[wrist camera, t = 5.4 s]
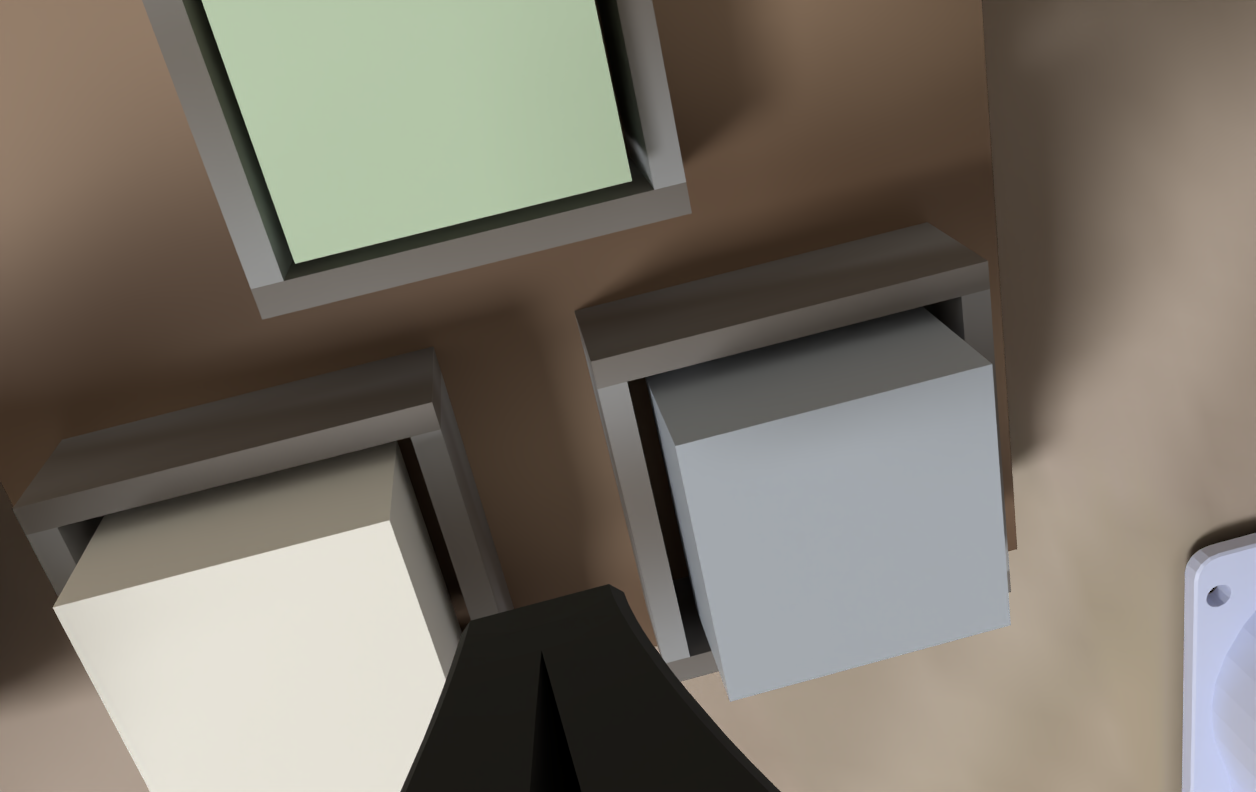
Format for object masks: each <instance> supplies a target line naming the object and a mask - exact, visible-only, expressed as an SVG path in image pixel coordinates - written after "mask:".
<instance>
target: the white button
mask: <svg viewBox="0 0 1256 792" xmlns="http://www.w3.org/2000/svg"><path fill="white" fill-rule="evenodd" d="M53 609H54V611H55V613H56V615H57V617H58V619H59V621H60V622H61V624H62V626H63V628H64V630H65V632H66V634H67V636H68V638H69V639H70V641H71V643H72V645H73V647H74V649H75V651H76V653H77V655H78V656H79V658H80V660H81V662H82V664H83V666H84V668H85V670H86V672H87V673H88V675H89V677H90V679H91V681H92V683H93V685H94V687H95V689H96V690H97V692H98V694H99V696H100V698H101V700H102V702H103V704H104V706H105V707H106V709H107V711H108V713H109V715H110V717H111V719H112V721H113V723H114V724H115V726H116V728H117V730H118V732H119V734H120V736H121V738H122V740H123V741H124V743H125V745H126V747H127V749H128V751H129V753H130V755H131V757H132V758H133V760H134V762H135V764H136V766H137V768H138V770H139V772H140V774H141V775H142V777H143V779H144V781H145V783H146V785H147V787H148V789H149V791H150V792H400V791H401V789H402V787H403V784H404V782H405V780H406V778H407V775H408V773H409V771H410V768H411V766H412V764H413V761H414V759H415V757H416V755H417V752H418V750H419V748H420V745H421V743H422V741H423V738H424V736H425V733H426V731H427V728H428V726H429V723H430V721H431V718H432V716H433V713H434V710H435V708H436V705H437V703H438V700H439V697H440V695H441V692H442V689H443V687H444V684H445V681H446V678H447V675H448V673H449V670H450V667H451V664H452V661H453V658H454V655H455V652H456V649H457V646H458V642H459V639H460V636H461V634H462V632H461V629H460V626H459V623H458V620H457V617H456V614H455V611H454V608H453V605H452V602H451V599H450V596H449V593H448V590H447V587H446V584H445V581H444V578H443V575H442V572H441V569H440V567H439V564H438V561H437V558H436V555H435V552H434V549H433V546H432V543H431V540H430V537H429V534H428V531H427V528H426V525H425V522H424V519H423V516H422V513H421V510H420V507H419V504H418V501H417V498H416V495H415V492H414V489H413V486H412V483H411V480H410V478H409V475H408V472H407V469H406V466H405V463H404V460H403V457H402V454H401V451H400V448H399V445H398V442H397V441H393V442H389V443H385V444H381V445H378V446H374V447H370V448H366V449H362V450H358V451H354V452H350V453H346V454H342V455H338V456H334V457H331V458H327V459H323V460H319V461H315V462H311V463H307V464H303V465H299V466H295V467H291V468H287V469H284V470H280V471H276V472H272V473H268V474H264V475H260V476H256V477H252V478H248V479H244V480H241V481H237V482H233V483H229V484H225V485H221V486H217V487H213V488H209V489H205V490H201V491H197V492H194V493H190V494H186V495H182V496H178V497H174V498H170V499H166V500H162V501H158V502H154V503H150V504H147V505H143V506H139V507H135V508H131V509H127V510H123V511H119V512H115V513H111V514H107V515H104V517H103V519H102V521H101V522H100V524H99V526H98V528H97V530H96V531H95V533H94V535H93V537H92V538H91V540H90V542H89V544H88V546H87V547H86V549H85V551H84V553H83V555H82V556H81V558H80V560H79V562H78V563H77V565H76V567H75V569H74V571H73V572H72V574H71V576H70V578H69V579H68V581H67V583H66V585H65V587H64V588H63V590H62V592H61V594H60V595H59V597H58V599H57V601H56V603H55V604H54V606H53Z"/></svg>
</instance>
